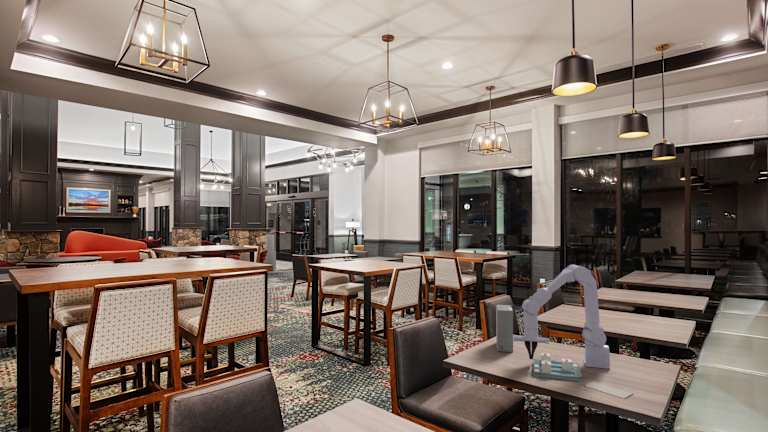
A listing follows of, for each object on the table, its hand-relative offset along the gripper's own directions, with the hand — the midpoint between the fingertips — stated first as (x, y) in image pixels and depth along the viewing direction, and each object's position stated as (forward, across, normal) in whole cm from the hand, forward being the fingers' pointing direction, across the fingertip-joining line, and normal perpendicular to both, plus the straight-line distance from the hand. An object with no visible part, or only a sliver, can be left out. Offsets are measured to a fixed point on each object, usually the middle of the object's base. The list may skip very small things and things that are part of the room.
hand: (531, 358), depth 181 cm
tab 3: (+2, -14, +5) cm, 15 cm away
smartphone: (+3, -27, +20) cm, 33 cm away
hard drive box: (+3, +13, -22) cm, 26 cm away
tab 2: (+2, -6, +11) cm, 13 cm away
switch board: (+3, -10, +6) cm, 12 cm away
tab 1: (+2, -6, 0) cm, 6 cm away
